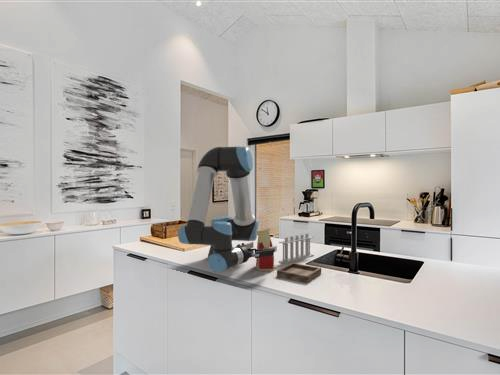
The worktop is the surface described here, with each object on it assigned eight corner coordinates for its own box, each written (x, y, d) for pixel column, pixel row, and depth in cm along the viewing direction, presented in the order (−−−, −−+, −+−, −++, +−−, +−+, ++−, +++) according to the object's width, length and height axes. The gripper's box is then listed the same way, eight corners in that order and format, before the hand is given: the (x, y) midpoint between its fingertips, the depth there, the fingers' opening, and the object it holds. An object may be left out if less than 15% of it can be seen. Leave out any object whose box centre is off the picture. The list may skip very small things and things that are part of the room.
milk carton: (272, 265, 151) (272, 226, 150) (274, 270, 142) (274, 229, 141) (254, 265, 151) (254, 226, 150) (255, 271, 141) (255, 229, 141)
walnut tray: (276, 276, 133) (277, 270, 133) (292, 268, 146) (292, 262, 145) (307, 283, 125) (307, 276, 125) (321, 273, 137) (321, 268, 137)
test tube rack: (284, 264, 153) (285, 239, 152) (278, 262, 156) (278, 237, 156) (313, 256, 169) (314, 233, 169) (307, 254, 173) (307, 232, 172)
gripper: (216, 259, 135) (243, 250, 152) (261, 269, 120) (286, 257, 138) (216, 243, 135) (243, 236, 152) (261, 251, 120) (286, 242, 137)
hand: (264, 246), depth 145 cm, fingers open, 13 cm apart
